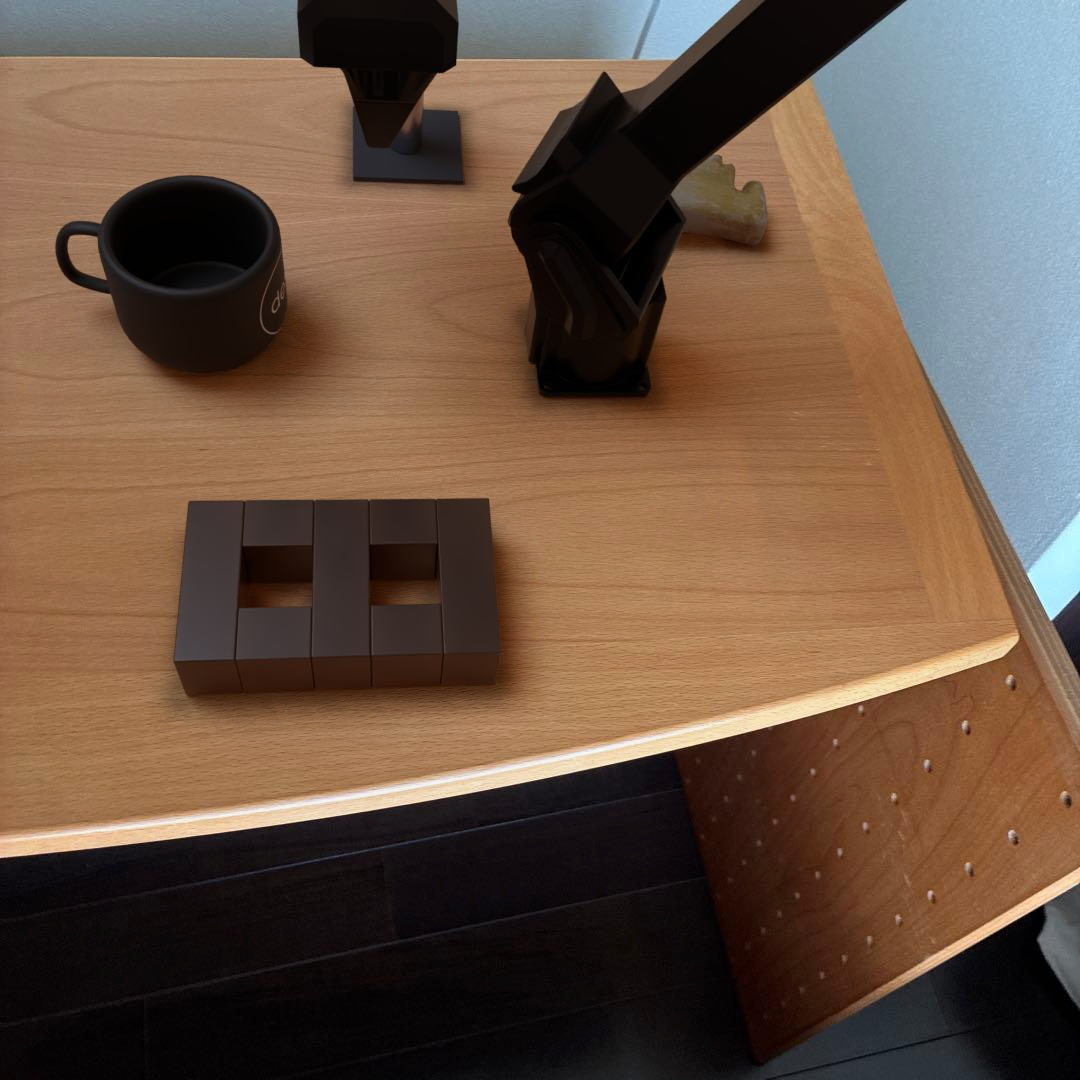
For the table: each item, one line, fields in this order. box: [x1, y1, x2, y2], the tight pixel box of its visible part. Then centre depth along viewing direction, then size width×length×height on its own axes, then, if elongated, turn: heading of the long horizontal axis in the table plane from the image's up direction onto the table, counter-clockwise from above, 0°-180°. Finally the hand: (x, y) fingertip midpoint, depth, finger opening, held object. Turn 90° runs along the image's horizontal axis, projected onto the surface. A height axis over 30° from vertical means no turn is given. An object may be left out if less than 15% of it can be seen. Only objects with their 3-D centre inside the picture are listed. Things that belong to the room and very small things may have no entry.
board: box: [172, 497, 502, 696], centre depth 52 cm, size 14×8×4 cm, turn 95°
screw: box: [390, 92, 425, 154], centre depth 68 cm, size 4×4×8 cm
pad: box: [352, 105, 465, 185], centre depth 72 cm, size 7×7×1 cm
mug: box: [54, 174, 288, 375], centre depth 59 cm, size 12×9×7 cm
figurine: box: [671, 154, 769, 246], centre depth 69 cm, size 5×5×15 cm
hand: (377, 85), depth 55 cm, fingers open, 9 cm apart
